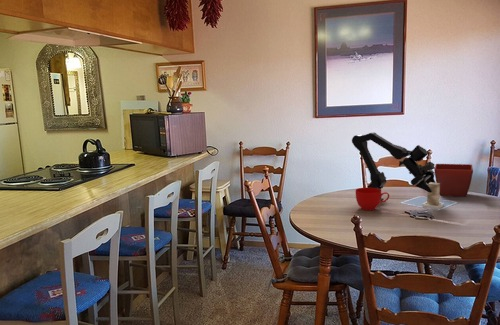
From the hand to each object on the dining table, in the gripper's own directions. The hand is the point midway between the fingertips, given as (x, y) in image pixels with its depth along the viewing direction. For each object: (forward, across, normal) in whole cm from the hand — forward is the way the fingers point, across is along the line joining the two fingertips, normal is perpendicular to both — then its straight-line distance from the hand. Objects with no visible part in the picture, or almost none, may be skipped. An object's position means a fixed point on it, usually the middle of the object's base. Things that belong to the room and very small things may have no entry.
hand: (434, 190), depth 199 cm
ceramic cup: (-10, -18, +24) cm, 32 cm away
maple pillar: (+6, 0, +6) cm, 8 cm away
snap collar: (+6, 0, +6) cm, 8 cm away
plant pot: (+6, +34, +8) cm, 35 cm away
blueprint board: (+4, +6, +10) cm, 12 cm away
